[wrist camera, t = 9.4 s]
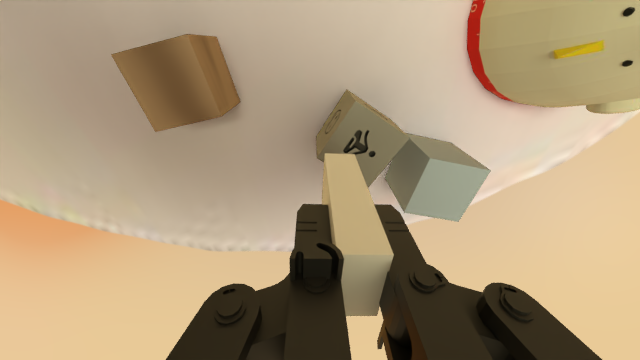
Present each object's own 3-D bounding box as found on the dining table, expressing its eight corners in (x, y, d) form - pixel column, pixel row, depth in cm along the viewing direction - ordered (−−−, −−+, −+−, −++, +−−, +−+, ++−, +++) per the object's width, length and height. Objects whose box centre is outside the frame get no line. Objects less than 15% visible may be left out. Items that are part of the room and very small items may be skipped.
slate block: (385, 177, 25) (404, 212, 20) (403, 132, 23) (430, 158, 18) (428, 185, 26) (458, 221, 20) (450, 142, 23) (490, 170, 18)
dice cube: (346, 89, 21) (355, 100, 16) (390, 119, 22) (410, 137, 18) (316, 136, 23) (316, 158, 18) (358, 161, 24) (368, 187, 20)
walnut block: (187, 114, 21) (155, 131, 17) (157, 52, 19) (111, 54, 15) (240, 101, 21) (221, 116, 17) (216, 36, 19) (186, 34, 14)
